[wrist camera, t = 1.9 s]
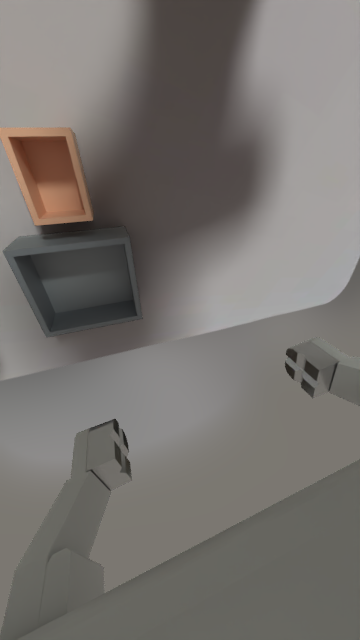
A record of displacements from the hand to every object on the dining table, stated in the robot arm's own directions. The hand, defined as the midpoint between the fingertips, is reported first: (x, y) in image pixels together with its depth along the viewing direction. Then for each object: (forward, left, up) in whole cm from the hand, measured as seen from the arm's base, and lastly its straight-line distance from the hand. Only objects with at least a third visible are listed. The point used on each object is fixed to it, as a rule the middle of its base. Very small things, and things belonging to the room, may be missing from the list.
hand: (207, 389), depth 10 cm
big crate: (+5, -8, -28) cm, 30 cm away
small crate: (-7, -8, -28) cm, 30 cm away
